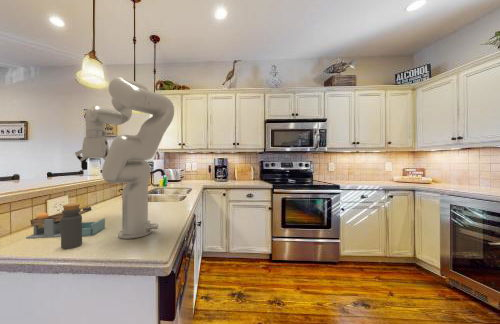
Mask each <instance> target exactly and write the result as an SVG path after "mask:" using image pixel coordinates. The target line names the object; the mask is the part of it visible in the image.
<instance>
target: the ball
mask: <svg viewBox="0 0 500 324" xmlns="http://www.w3.org/2000/svg"><path fill="white" fill-rule="evenodd" d="M48 216H49V214H48V213H47V212H45V211H44V212H40V213H38V214H37V216H36V218H37V220H38V219H43V218H48Z"/></svg>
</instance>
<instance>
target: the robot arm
mask: <svg viewBox="0 0 500 324" xmlns="http://www.w3.org/2000/svg"><path fill="white" fill-rule="evenodd" d="M108 93H109V95H110V96H111V105H112V107H113V108H110V107H107V106H100V105H94V106H92V107H91V108H86V110H85V136H84V137H83V140H82V141H83V142H82V147H81V148H82V149H80V150H77V151H76V152H75V153H74V155H75V156H76V158H77V159H78V160H79V162H80V163H81V165H80V169H81V170H82V171H87V170H88V160H89V159H97V158H98V159H103V160H104V161H103V165H102V167H101V168H102V169H101V176H102V179H103V180H104V181H105V182H106V183H108V184H123V183H126V184H125V186H124V188H123V189H122V194H121V196H122V198H121V199H122V202H121V203H122V204H121V210H122V211H121V216H122V218H121V220H122V221H121V222H122V223H121V225H122V226H121V227H122V229H121V230H120V231H118V232H117V237H118V238H120V239H123V240H124V239H125V240H131V239H138V238H141V237H145V236H147V235H150V234H151V233H153V230H158V229H159V224H158V223H151V220H149V181H150V175H151V172H152V171H151V165H150V164H149V162H148V160H151V159H153V157H154V156H155V154H156V152H157V150H158V147H159V146H160V144H161V141H162V139H163V137H164V135H165V132H166V131H167V130H168V129H169V126H170V125H171V124H172V122H173V119H174V116H175V106H174V103H173V102H172V101H171V99H170V98H168V97H167V96H165V95H163V94H160V93H157V92H155V91H152V90H149V89H148V87H146V86H145V85H144V84H142V83H141V82H137V81H134V80H132V79H128V78H125V77H123V76H122V77H121V76H116V77H114V78H113V79H111V81H110V82H109V84H108ZM133 111H135V112H139V113H144V114H148V115H149V114H150V115H152V116H151V117H149V118H147V119H146V120H145V121H144V122H143V123H142V124H141V126H140V129H139V131H138V133H137V134H136V135H133V134H132V135H131V134H120V135H117V136H116V137H114V139H113V140H112V142H111V144H110V147H109V142H108V138H107V137H106V136H108V132H106V130H105V128H106V124H107V125H113V126H121V125H124V124H125V123H127V122H129V121H130V120H131V118H132V114H133ZM81 154H82V155H81Z"/></svg>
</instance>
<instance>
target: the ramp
mask: <svg viewBox="0 0 500 324" xmlns="http://www.w3.org/2000/svg"><path fill="white" fill-rule="evenodd" d="M91 211H93V210H92V207H91V206H88V207H83V208H82V210H81V211H80V212H79V214H80V215H84V214H86V213H88V212H91ZM63 216H64V214H63V213H62V212H61V213H57V214H53V215H48V218H43V219H38V220H37V217H36V218H33V219H29V220H30V221H29V222H30V224H31V225H30V226H31V227H34V226H36V225H38V228H43V227H44V220H46V219H54V223H56V222H58V221H61V218H62V217H63Z"/></svg>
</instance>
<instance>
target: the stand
mask: <svg viewBox="0 0 500 324" xmlns="http://www.w3.org/2000/svg"><path fill="white" fill-rule="evenodd" d="M25 237H26V238H25V239H44V238H61V221H58V222H56V223H54V219H46V220H44V227H43V228H38V225H36V226H33V234H30V235H28V236H25Z"/></svg>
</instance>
